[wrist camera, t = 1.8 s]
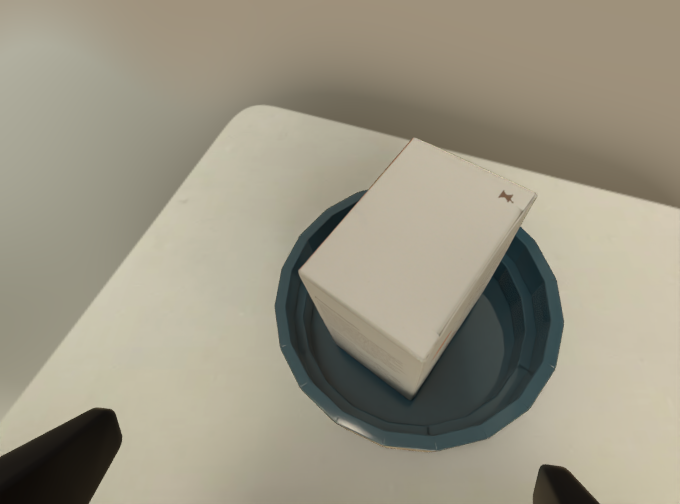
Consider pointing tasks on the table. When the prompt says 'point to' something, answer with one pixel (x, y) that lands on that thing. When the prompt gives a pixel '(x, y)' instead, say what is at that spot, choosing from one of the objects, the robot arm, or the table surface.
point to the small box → (413, 260)
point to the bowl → (453, 365)
